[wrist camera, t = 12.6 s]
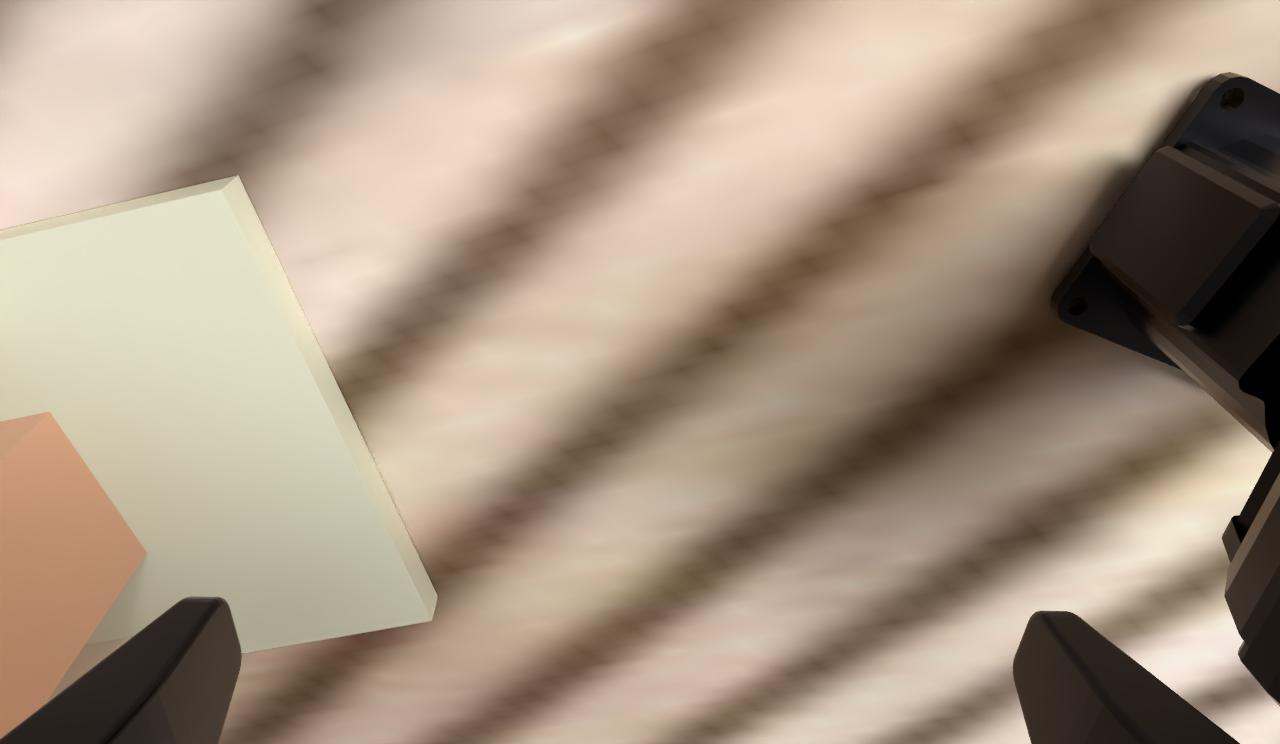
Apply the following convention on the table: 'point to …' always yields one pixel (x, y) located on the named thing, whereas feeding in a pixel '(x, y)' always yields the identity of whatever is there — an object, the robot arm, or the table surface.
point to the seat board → (204, 420)
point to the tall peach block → (52, 561)
